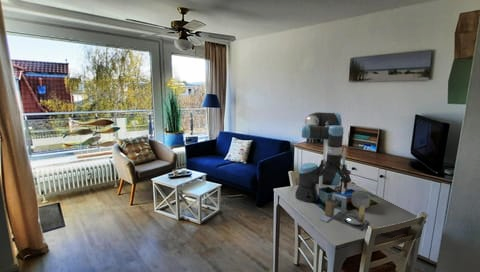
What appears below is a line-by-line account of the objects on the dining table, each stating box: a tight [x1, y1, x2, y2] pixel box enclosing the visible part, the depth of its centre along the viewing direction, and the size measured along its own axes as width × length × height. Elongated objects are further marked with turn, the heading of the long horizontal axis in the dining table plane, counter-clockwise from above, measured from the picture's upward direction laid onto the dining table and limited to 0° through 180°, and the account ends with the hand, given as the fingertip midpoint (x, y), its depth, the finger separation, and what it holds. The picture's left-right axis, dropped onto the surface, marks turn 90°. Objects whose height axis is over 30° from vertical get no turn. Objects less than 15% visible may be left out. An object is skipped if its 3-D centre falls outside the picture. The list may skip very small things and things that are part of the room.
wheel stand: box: [339, 217, 369, 231], centre depth 140 cm, size 11×11×1 cm
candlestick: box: [334, 143, 352, 193], centre depth 181 cm, size 11×11×35 cm
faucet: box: [344, 205, 366, 225], centre depth 138 cm, size 10×10×11 cm
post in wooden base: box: [324, 199, 342, 217], centre depth 150 cm, size 18×4×9 cm, turn 135°
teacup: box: [350, 190, 371, 210], centre depth 159 cm, size 14×11×8 cm
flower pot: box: [318, 186, 339, 205], centre depth 163 cm, size 9×9×9 cm
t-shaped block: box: [319, 193, 348, 223], centre depth 148 cm, size 22×9×9 cm, turn 135°
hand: (331, 189), depth 143 cm, fingers open, 13 cm apart
